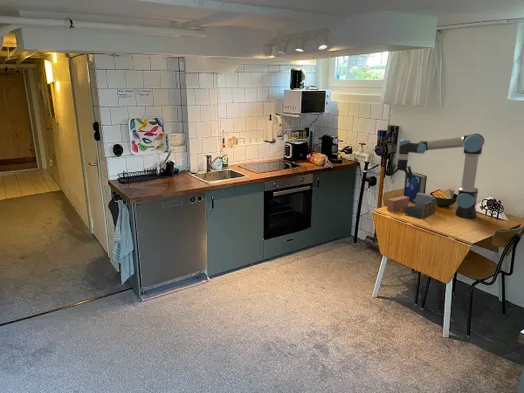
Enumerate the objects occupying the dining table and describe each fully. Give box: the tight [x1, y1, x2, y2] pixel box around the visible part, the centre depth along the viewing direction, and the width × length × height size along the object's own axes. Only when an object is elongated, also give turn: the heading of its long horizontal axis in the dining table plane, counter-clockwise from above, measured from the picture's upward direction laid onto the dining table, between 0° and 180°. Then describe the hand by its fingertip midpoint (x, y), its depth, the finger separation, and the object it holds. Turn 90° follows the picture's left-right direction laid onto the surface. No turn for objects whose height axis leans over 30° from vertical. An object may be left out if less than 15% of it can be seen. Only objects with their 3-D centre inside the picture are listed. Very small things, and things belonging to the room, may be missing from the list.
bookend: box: [403, 204, 422, 220], centre depth 308 cm, size 7×16×7 cm, turn 43°
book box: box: [386, 195, 410, 212], centre depth 326 cm, size 6×20×9 cm, turn 125°
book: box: [403, 171, 428, 204], centre depth 345 cm, size 22×7×25 cm, turn 17°
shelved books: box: [414, 193, 436, 208], centre depth 316 cm, size 6×12×15 cm, turn 43°
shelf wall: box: [420, 198, 437, 220], centre depth 307 cm, size 20×2×12 cm, turn 133°
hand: (399, 184), depth 322 cm, fingers open, 13 cm apart
